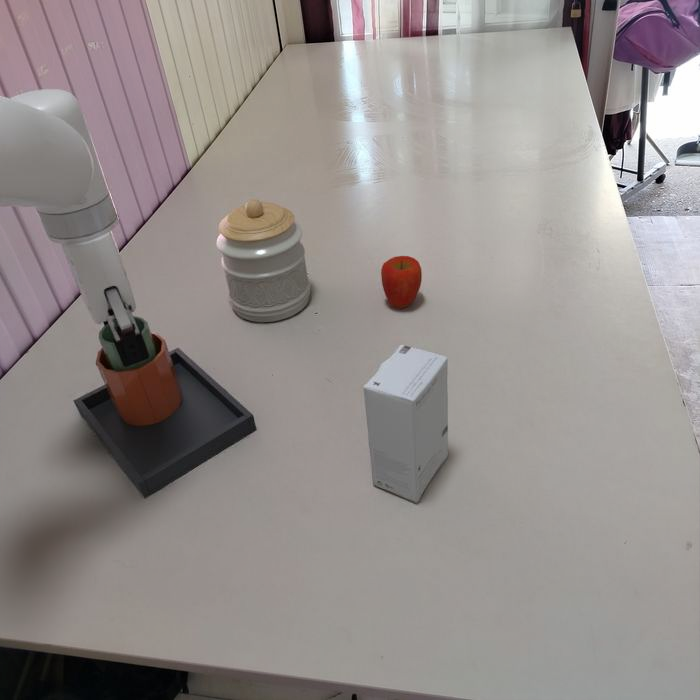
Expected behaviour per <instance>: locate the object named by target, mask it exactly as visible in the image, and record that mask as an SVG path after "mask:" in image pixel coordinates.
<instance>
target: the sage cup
mask: <svg viewBox="0 0 700 700" xmlns="http://www.w3.org/2000/svg"><path fill="white" fill-rule="evenodd" d="M133 317H134V320H135V322H136V324H137V327H138V329H140V331H141V333H142V336H143V339H144V342H145V345H146V347H147V350H148V353H149V358H148V359H146V360H143V361H140V362H138V363H135V364H133V365H130V366H127V367H124V366H123V364H122V362H121V359H120V357H119V354H118V352H117V349H116V347H115V344H114V342H113V339H114V338H115V337H114V335H113V333H112V330H111V328H110V325H109V323H108V324H106V325H105V326H104V325H103V327H102V328H101V329H100V330H99V331H98V340H99V343H100V346H101V348H103V350H104V353H105V355H106V358H107V360H108V362H109V365H110V367H111V370H113V371H118V372H121V371H127V370H132V369H137V368H139V367H141V366H143V365H145V364H147V363H149V362H151V361H152V360H153V359H154V358H155V357H156V356H157V355H158V352H157V349H156V346H155V343H154V340H153V337H152V335H151V332H152V331H151V329H150V326H149V323H148V321H147V320H146V319H145V318H144V317H142V316H137V315H133ZM113 322H114V324H115V326H116V329H117V327H118V326H119V325H118V322H117V320H113Z"/></svg>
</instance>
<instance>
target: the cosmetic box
mask: <svg viewBox="0 0 700 700" xmlns="http://www.w3.org/2000/svg"><path fill="white" fill-rule="evenodd" d="M448 359H449V358H448V356H446V355H443V354H439V353H435V352H431V351H428V350H424V349H419V348H416V347H412V346H409V345H405V344H400V345H399V346H398V347H397V349H396V350H395V351H394V352H393V353H392V354H391V355H390V357H389V358H388V359H385V360H384V361H383V362H382V363H381V364H380V365H379V369H378V371H377V372H376V373H375V374H374V375H373V376H372V377H371V378H370V379H369V380H368V381H367V382H366V383H365V384H364V385H363V395H364V404H365V405H364V406H365V416H366V426H367V427H366V428H367V436H368V446H369V447H368V448H369V458H370V466H371V476H372V484H373V485H374V486H376V487H378V488H380V489H383V490H385V491H388V492H389V493H392V494H394V495H397V496H399V497H401V498H403V499H406V500H408V501H410V502H412V503H415V504H417V503H418V502H419V501H420V499H421V497H422V495H423V493H424V492H425V490H426V488H427V487H428V485H429V484H430V482H431V480H432V479H433V477H434V476H435V474H436V473H437V472H438V470H439V469H440V467H441V466H442V464H443V463H444V462H445V461H446V459H447V458H448V455H449V453H448V452H449V430H448V429H449V426H448V424H449V419H448V417H449V415H448V414H449V413H448V412H449V411H448V408H449V405H448V404H449V402H448V401H449V399H448V398H449V397H448V395H449V393H448V361H449V360H448Z"/></svg>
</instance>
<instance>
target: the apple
mask: <svg viewBox="0 0 700 700" xmlns="http://www.w3.org/2000/svg"><path fill="white" fill-rule="evenodd" d="M380 275H381V284H382V285H381V286H382V289H383V292H384V295H385V298H386V299H387V301H388V303H389V305H391V306H392V307H393V308H398V309H400V308H405V307H408V306H410V305H411V304H412V303H413V302H414V301H415V299H416V297H417V295H418V293H419V291H420V288H421V284H422V278H423V277H422V276H423V274H422V267H421V264H420V262H419V261H418V260H417V259H416V258H415V257H411V256H409V255H397V256H393V257H391V258H389V259H388V260H386V261H384V262H383V264H382V266H381V270H380Z"/></svg>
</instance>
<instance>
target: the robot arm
mask: <svg viewBox="0 0 700 700" xmlns="http://www.w3.org/2000/svg"><path fill="white" fill-rule="evenodd" d="M0 207H3V208H4V207H18V208H20V207H21V208H35V210H36V212H37V215H38V217H39V220H40V222H41V224H42V227H43V229H44V231H45V234H46V236H47V238H48V239H49V240H50V241H51V242H54V243H55V244H56V243H57V244H60V245H61V248H62V251H63V253H64V257H65V260H66V262H67V264H68V266H69V269H70V271H71V274H72V276H73V279H74V281H75V284H76V286H77V288H78V291H79V293H80V295H81V298H82V300H83V302H84V305H85V307H86V309H87V311H88V314H89V315H90V317H91V319H92V321H93V323H95V324H97V325H102V324H103V327H104V326H105V325H106V324H108V323H109V325H110V328H111V330H112V333H113V335H114V337H115V338H114V339H113V342H114V344H115V347H116V349H117V352H118V354H119V357H120V359H121V362H122V364H123V366H124V367H127V366H130V365H133V364H135V363H138V362H140V361H143V360H146V359H148V358H149V353H148V350H147V347H146V345H145V342H144V339H143V336H142V333H141V331H140V329H138V327H137V324H136V322H135V320H134V317H133V316H134V315H133V313H134V312H135V311H136V309H137V304H136V300H135V297H134V293H133V291H132V288H131V283H130V281H129V278H128V277H129V276H128V274H127V271H126V269H125V265H124V262H123V260H122V257H121V253H120V251H119V248H118V245H117V242H116V239H115V237H114V234H113V231H112V230H114V229H115V228H116V227H117V226H118V224H119V222H120V221H119V219H120V218H119V215H118V212H117V209H116V205H115V203H114V200H113V197H112V194H111V192H110V188H109V186H108V182H107V180H106V177H105V174H104V171H103V167H102V163H101V162H100V159H99V155H98V152H97V149H96V147H95V144H94V141H93V138H92V134H91V132H90V129H89V126H88V123H87V120H86V116H85V114H84V112H83V109H82V106H81V103H80V102H79V100H78V99H77V97H76V96H75V95H74V94H73V93H71V92H69V91H67V90H65V89H58V88H44V89H35V90H31V91H26V92H23V93H20V94H17V95H14V96H11V97H7V96H3V95H0ZM113 320H117V322H118V325H119V326H118V327H117V329H116V326H115V324H114V322H113Z"/></svg>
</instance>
